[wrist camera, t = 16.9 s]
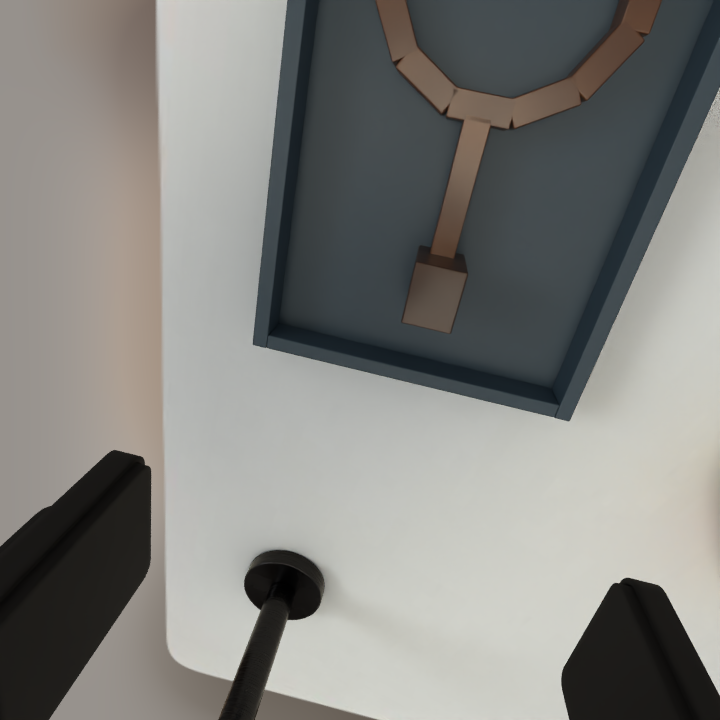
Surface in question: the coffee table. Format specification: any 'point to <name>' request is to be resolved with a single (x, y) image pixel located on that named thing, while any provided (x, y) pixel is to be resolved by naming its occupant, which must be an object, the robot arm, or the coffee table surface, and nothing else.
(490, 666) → the coffee table surface
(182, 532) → the coffee table surface
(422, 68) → the brown ring with handle
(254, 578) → the black post with ball
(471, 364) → the tray
